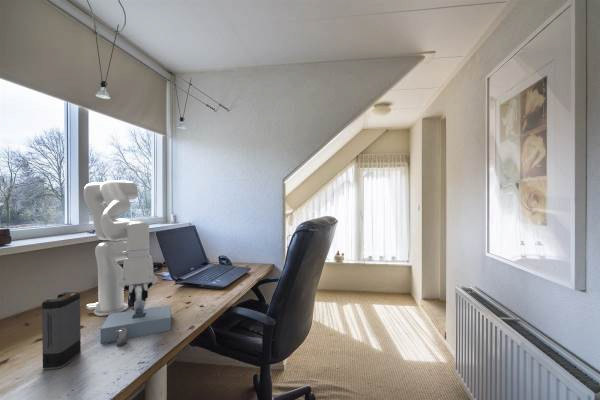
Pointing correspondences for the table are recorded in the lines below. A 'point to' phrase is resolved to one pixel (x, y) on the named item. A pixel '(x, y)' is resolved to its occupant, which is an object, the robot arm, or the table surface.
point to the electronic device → (61, 330)
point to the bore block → (136, 323)
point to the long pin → (138, 299)
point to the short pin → (121, 337)
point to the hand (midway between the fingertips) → (139, 300)
